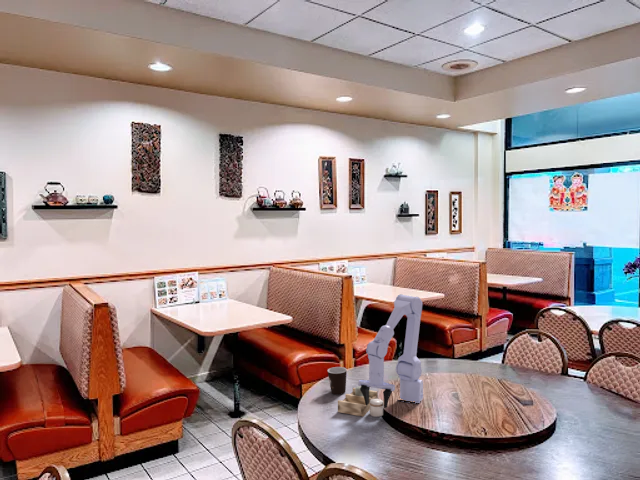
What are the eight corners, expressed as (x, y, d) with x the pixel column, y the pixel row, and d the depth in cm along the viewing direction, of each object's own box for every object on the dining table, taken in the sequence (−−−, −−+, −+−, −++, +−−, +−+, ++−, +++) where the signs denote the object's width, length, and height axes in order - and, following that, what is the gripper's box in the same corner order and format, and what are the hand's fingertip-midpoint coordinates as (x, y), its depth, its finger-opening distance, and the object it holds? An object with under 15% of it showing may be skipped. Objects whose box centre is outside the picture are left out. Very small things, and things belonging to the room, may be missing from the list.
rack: (377, 401, 209) (377, 386, 209) (363, 416, 194) (363, 400, 193) (353, 397, 214) (353, 383, 213) (337, 412, 198) (337, 396, 198)
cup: (385, 413, 197) (385, 399, 197) (380, 418, 192) (380, 404, 192) (372, 411, 199) (372, 397, 199) (367, 416, 194) (367, 402, 194)
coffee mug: (346, 395, 216) (345, 373, 215) (327, 395, 217) (325, 373, 217) (350, 386, 227) (349, 364, 226) (331, 385, 229) (330, 364, 228)
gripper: (355, 372, 194) (355, 406, 195) (391, 377, 188) (390, 412, 189) (362, 367, 201) (361, 400, 201) (396, 372, 194) (396, 406, 195)
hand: (376, 405), depth 195 cm, fingers open, 7 cm apart
